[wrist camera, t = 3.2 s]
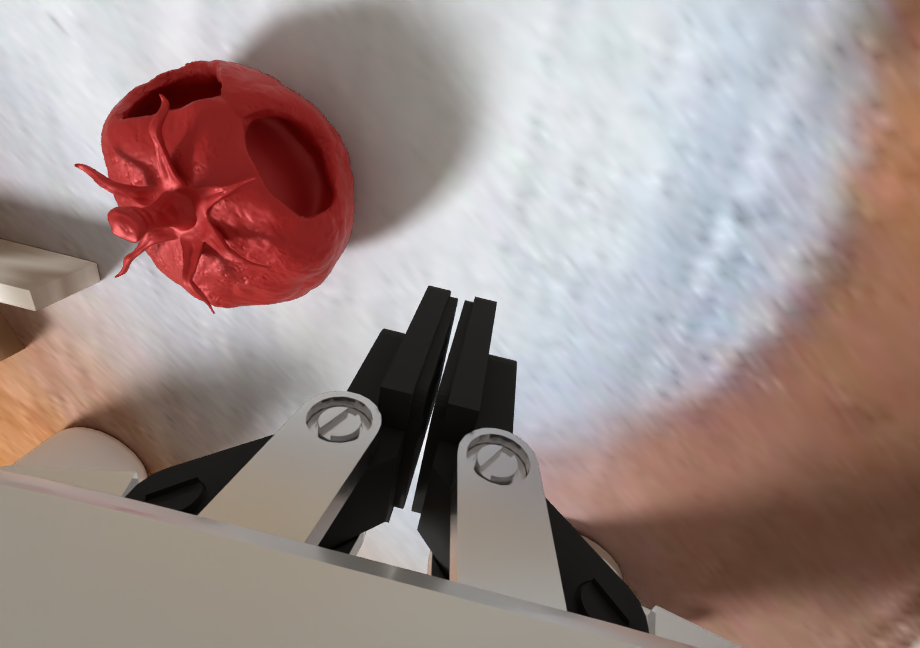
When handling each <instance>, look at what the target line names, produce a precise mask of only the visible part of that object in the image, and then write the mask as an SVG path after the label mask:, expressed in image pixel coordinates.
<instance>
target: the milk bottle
mask: <svg viewBox="0 0 920 648" xmlns="http://www.w3.org/2000/svg"><path fill="white" fill-rule="evenodd" d="M11 466H24V467H45V468H67V469H88V470H109V471H131V472H137V476H138V479H146V478H147V473H146V470H145V468H144V466H143V464H142V463H141V461H140V460H139V459H138V457H137V456H136V455H135V454H134V453H133V452H132V451H131V450H130V449H129V448H128V447H127V446H125V445H124V444H123V443H121V442H120V441H119V440H117V439H115V438H113V437H112V436H110V435H108V434H105V433H103V432H101V431H98V430H94V429H91V428H85V427H73V428H69V429H65V430H62V431H59V432H57V433H56V434H54V435H53V436H51V437H50V438H49V439H47V440H46V441H44V442H43V443H41V444H40V445H39V446H37V447H36V448H35V449H33V450H32V451H30V452H29V453H28V454H26V455H25V456H24V457H22V458H21V459H19V460H18V461H17V462H15V463H14V464H13V465H11Z"/></svg>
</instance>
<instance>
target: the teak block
mask: <svg viewBox="0 0 920 648" xmlns="http://www.w3.org/2000/svg"><path fill="white" fill-rule="evenodd" d="M23 349H25V347H24V346H23V344H22V343H21V341H20V340H19V338H18V337H17V335H16V334H15V332H14V331H13V330H12V328H11V327H10V325H9V324H8V322H7V321H6V319H5V318H4V316H3V315H2V314H1V312H0V361H2V360H4V359H6V358H8V357H10V356H12V355H13V354H15V353H17V352H19V351H21V350H23Z"/></svg>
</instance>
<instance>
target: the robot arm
mask: <svg viewBox="0 0 920 648" xmlns="http://www.w3.org/2000/svg"><path fill="white" fill-rule="evenodd" d="M450 295H451V291H449V290H445V289H441V288H437V287H433V286H428V288H427V290H426V292H425V294H424V296H423V298H422V301H421V303H420V305H419V307H418V309H417V311H416V313H415V315H414V317H413V319H412V321H411V324H410V326H409V328H408V330H407V332H406V334H404V333H400V332H396V331H392V330H388V329H383V330H382V331H381V332H380V334H379V336H378V338H377V339H376V341H375V343H374V345H373V346H372V348H371V350H370V352H369V353H368V355H367V357H366V359H365V360H364V362H363V364H362V366H361V367H360V369H359V371H358V373H357V374H356V376H355V378H354V380H353V381H352V383H351V385H350V387H349V388H348V390H347V391H333V392H327V393H322V394H320V395H318V396H315V397H313V398H311V399H310V400H309V401H307V402H306V403H305V404H303V405H302V406H301V407H300V409H299V410H298V411H297V412H296V413H295V414H294V415H293V416H292V417H291V418H290V419H289V420H288V421H287V422H286V423H285V424H284V425H283V426H282V427H281V428H280V429H279V430H278V432H277V433H276V434H274V435H271V436H268V437H264V438H261V439H258V440H255V441H252V442H248V443H245V444H242V445H239V446H236V447H233V448H229V449H226V450H223V451H220V452H217V453H214V454H210V455H207V456H204V457H201V458H198V459H195V460H191V461H188V462H185V463H182V464H179V465H176V466H172V467H169V468H166V469H164V470H162V471H159V472H157V473H155V474H152V475H150V476H149V477H147V478H146V479H138V476H137V472H131V471H109V470H88V469H67V468H45V467H24V466H4V467H0V648H743V647H741V646H739V645H737V644H735V643H733V642H731V641H728V640H726V639H724V638H722V637H720V636H718V635H716V634H714V633H712V632H710V631H708V630H706V629H704V628H702V627H700V626H698V625H696V624H694V623H692V622H689V621H687V620H685V619H683V618H681V617H679V616H677V615H675V614H673V613H671V612H669V611H667V610H665V609H663V608H661V607H659V606H657V605H655V607H654V608H653V609H652V611H651V610H649V609H647V608H645V607H643V606H641V604H640V602H639V600H638V599H637V597H636V596H635V595H634V593H633V592H632V591H631V589H630V588H629V587H628V586H627V584H626V583H625V582H624V581H623V578H622V574H621V572H620V569H619V567H618V565H617V564H616V562H615V561H614V560H613V558H612V557H611V556H610V554H608V553H607V552H606V551H605V550H604V549H603V548H601V547H600V546H599V545H598V544H596V543H594V542H593V541H591V540H589V539H588V538H586V537H584V536H582V535H580V534H579V533H578V532H577V531H576V530H575V529H574V528H573V527H572V526H571V524H570V523H569V522H568V521H567V520H566V519H565V518H564V517H563V516H562V515H561V514H560V513H559V512H558V511H557V509H556V508H555V507H554V506H553V505H552V504H551V503H550V502H549V501H548V500H547V499H546V498H545V494H544V489H543V484H542V479H541V473H540V468H539V463H538V461H537V458H536V455H535V453H534V452H533V450H532V449H531V448H530V446H529V445H528V444H527V443H526V442H524V441H523V440H522V439H521V438H519V437H518V436H516V435H514V434H513V420H514V404H515V388H516V371H517V362H516V361H514V360H510V359H506V358H502V357H498V356H494V355H490V354H489V349H490V343H491V336H492V330H493V324H494V318H495V311H496V305H497V302H495V301H491V300H487V299H482V298H478V297H475V299H474V302H470V301H466V300H465V302H464V305H463V309H462V312H461V316H460V319H459V322H458V326H457V329H456V332H455V336H454V339H453V343H452V346H451V349H450V353H449V356H448V360H447V363H446V366H445V370H444V373H443V376H442V371H443V367H444V362H445V357H446V353H447V348H448V344H449V339H450V335H451V330H452V325H453V321H454V316H455V312H456V307H457V302H458V299H457V298H453V297H450ZM441 376H442V380H441ZM440 380H441V383H440ZM439 385H440V387H439ZM438 389H439V390H438ZM437 393H438V394H437ZM435 400H436V401H435ZM434 404H435V405H434ZM433 407H434V409H433ZM432 411H433V414H432ZM431 414H432V418H431V423H430V427H429V432H428V437H427V441H426V446H425V450H424V455H423V460H422V464H421V469H420V473H419V478H418V482H417V487H416V492H415V496H414V501H413V505H412V510H411V511H414V512H417V513H421V516H420V520H419V525H418V529H417V530H418V532H419V533H420V535H421V536H422V538H423V539H424V541H425V542H426V544H427V545H428V547H429V548H430V555H429V559H428V571H427V574H423V573H419V572H415V571H412V570H408V569H404V568H400V567H396V566H392V565H388V564H385V563H381V562H377V561H373V560H369V559H365V558H361V557H357V556H356V554H357V553H358V551H359V549H360V547H361V545H362V543H363V540H364V538H365V535H366V531H367V530H369V529H371V528H373V527H375V526H377V525H379V524H381V523H383V522H388V523H389V520H390V517H391V514H392V511H393V508H394V507H398V508H402V509H403V508H404V505H405V502H406V499H407V495H408V492H409V488H410V485H411V482H412V478H413V475H414V471H415V468H416V465H417V461H418V458H419V455H420V451H421V448H422V444H423V441H424V438H425V434H426V431H427V427H428V424H429V421H430V417H431Z"/></svg>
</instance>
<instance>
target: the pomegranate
mask: <svg viewBox="0 0 920 648" xmlns="http://www.w3.org/2000/svg"><path fill="white" fill-rule="evenodd" d="M101 136H102V137H101V146H102V152H103V154H104V160H105V163H106V167H107V170H108V177H109V178H107V177H106V176H104V175H103V174H101V173H99V172H98V171H96V170H95V169H93V168H91V167H89V166H87V165H84V164H75V167H77V168H79V169H81V170H83V171H84V172H86V173H87V174H88V175H89V176H90V177H92V178H93V179H94V181H95V182H96V183H97V184H98V185H99V186H101V187H102V188H104V189H105V190H107V191H109V192H111V193H113V194H114V197H115V200H116V202H117V204H118V206H119V207H115V208H114V209H112V210H110V212H109V213H108V221H109V223H110V226H111V229H112V232H113V233H114V234H115V235H117V236H118V237H120V238H123V239H126V240H128V241H130V242H133V243H136V242H138V241H139V244H138V246H137V247H136V249H135V250H134V251H133V252H132V253H130V254H128V255H127V256H126V257H125V258H124V260H123V267H122V270H121V271H120V272H119V274H117V275H116V276H115V278H116V277H119V276H121V275H123V274H125V273H126V272H127V270H128V269H129V266H130V264H131V262H132V261H133V260H134V259H135V258H136V257H137V256H138V255H140V254H141V253H142V252H144V251H146V252H147V254H148V255H149V256H150V257H151V259H152V260H153V262H154V263H155V265H156V266H157V268H158V269H159V270H160V271H161V272H162V273H164V274H165V275H166V276H167V277H168V278H170V279H171V280H172V281H174V282H175V283H177V284H179V285H181V286H182V287H183V288H184V289H185V290H186V291H187V292H188V293H190V294H191V295H192V296H193V297H195V298H198V299H199V300H201V301H203V302H205V303H206V304H207V305H208V306H209V308H210V309H211V311H212V312H213V314H215V312H214V311H213V309H212V306H211V305H213V306H215V307H223V308H234V307H238V306H248V305H266V304H267V305H269V304H276V303H281V302H285V301H291V300H294V299H297V298H299V297H302V296H304V295H305V294H307V293H308V292H309V291H310V290H312V289H314V288H316V287H318V286H319V285H320V284H321V283H322V282H323V281H324V280H325V279H326V278H327V276H328V275H329V274H330V272H331V271H332V269H333V267H334V266H335V264H336V262H337V260H338V259H339V257H340V256H341V254H342V253H343V251H344V249H345V247H346V245H347V242H348V240H349V238H350V235H351V231H352V226H353V219H354V210H355V207H354V184H353V174H352V171H351V168H350V159H349V156H348V152H347V149H346V147H345V145H344V144H343V142H342V140H341V137H340V135H339V134H338V133H337V131H336V130H335V128H334V127H333V126H332V125H331V124H330V122H329V121H328V120H326V118H325V117H324V115H323V114H322V113H321V112H320V111H319V110H318V109H317V108H316V107H315V106H314V105H313V104H312V103H311V102H309V101H308V100H306V99H304V98H303V97H301V95H300V94H298V93H296V92H295V91H293V90H291V89H289V88H287V87H286V86H284V85H282V84H281V83H280V82H279V81H278V80H276V79H275V78H274V77H272V76H270V75H268V74H263V73H261V72H260V71H258V70H256V69H252V68H250V67H245V66H243V65H240V64H236V63H232V62H226V61H222V60H213V61H195V62H191V63H187V64H185V66H184V67H181V68H179V69H175V70H171V71H168V72H165V73H162V74H160V75H157V76H156V77H155V78H154V79H152V80H150V81H149V82H148V83H145V84H142V85H140V86H138V87H135V88H134V89H133V90H132V91H130V92H129V93H128V94H127V95H126V96H125V97H124V98H123V99H122V100H121V101H119V103H118V104H117V105H116V106H115V107H114V108H113V109H112V110H111V112H110V114H109V115H108V117H107V119H106V121H105V123H104V125H103V129H102V133H101Z"/></svg>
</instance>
